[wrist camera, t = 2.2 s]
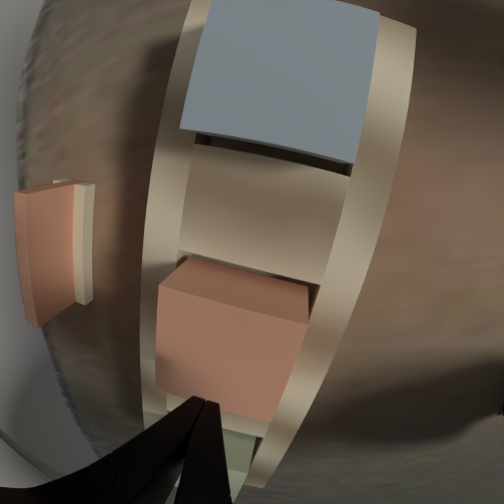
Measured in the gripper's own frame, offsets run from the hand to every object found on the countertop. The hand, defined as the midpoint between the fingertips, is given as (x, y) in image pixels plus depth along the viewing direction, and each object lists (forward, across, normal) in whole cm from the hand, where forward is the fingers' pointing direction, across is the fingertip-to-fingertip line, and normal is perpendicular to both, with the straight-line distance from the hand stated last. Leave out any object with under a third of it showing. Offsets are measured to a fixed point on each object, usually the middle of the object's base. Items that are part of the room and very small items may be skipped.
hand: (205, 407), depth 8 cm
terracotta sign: (+9, +12, 0) cm, 15 cm away
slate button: (+5, 0, -10) cm, 11 cm away
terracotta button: (+5, 0, 0) cm, 5 cm away
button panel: (+9, 0, 0) cm, 9 cm away
